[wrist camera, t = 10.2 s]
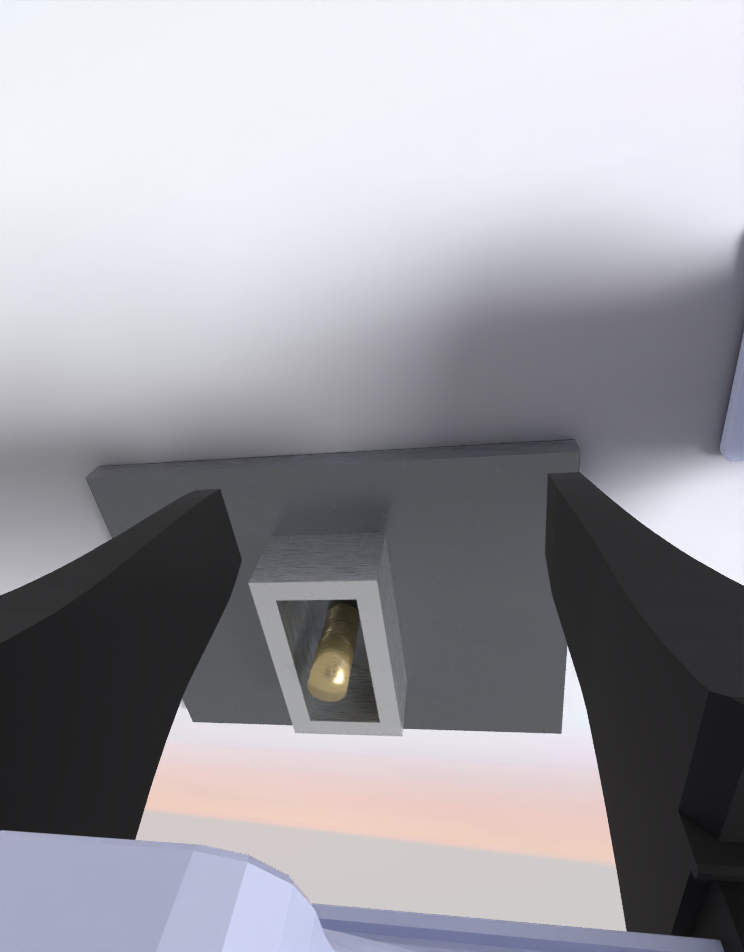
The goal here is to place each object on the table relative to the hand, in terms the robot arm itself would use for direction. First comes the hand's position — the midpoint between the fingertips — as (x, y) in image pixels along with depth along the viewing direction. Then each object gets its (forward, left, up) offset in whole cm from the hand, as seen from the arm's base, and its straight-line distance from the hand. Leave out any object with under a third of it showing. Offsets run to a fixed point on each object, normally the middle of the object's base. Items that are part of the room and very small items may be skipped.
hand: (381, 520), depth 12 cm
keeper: (+4, +11, -9) cm, 15 cm away
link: (+4, +11, -8) cm, 14 cm away
